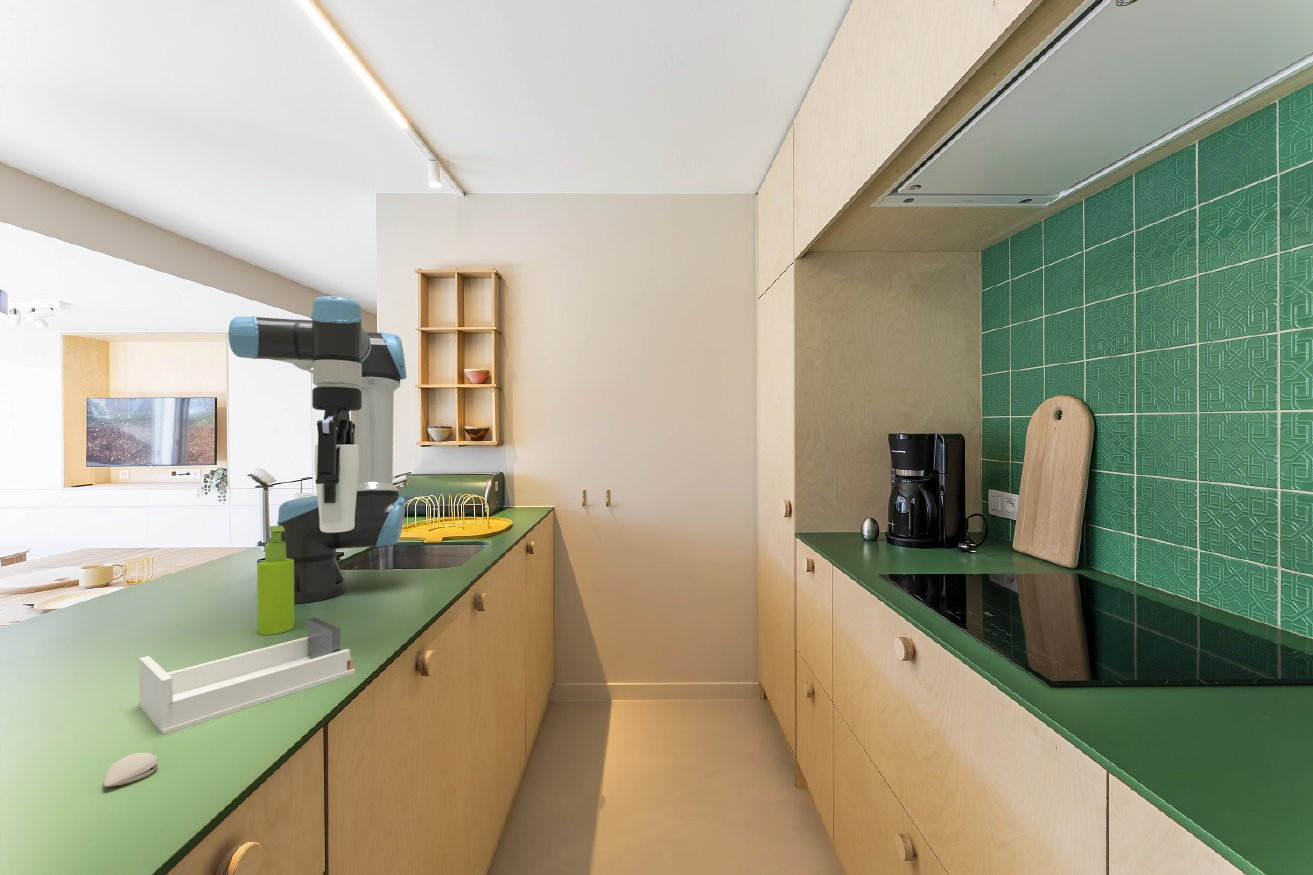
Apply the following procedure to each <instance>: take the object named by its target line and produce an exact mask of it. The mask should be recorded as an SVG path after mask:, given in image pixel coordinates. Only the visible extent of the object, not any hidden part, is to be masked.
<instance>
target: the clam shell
mask: <svg viewBox="0 0 1313 875" xmlns="http://www.w3.org/2000/svg"><path fill="white" fill-rule="evenodd" d="M151 768H153V769H151ZM157 768H158V757H157V756H156V755H155V754H153V753H152V752H144V751H142V752H136V753H135V752H134V753H131V754H128V755H126V756H124V757H122V758H120V759H118V760H117V761H115V762H114V763H112V764H110V766H109V767H108V769H107V770H106V772H105V774H104V776H103V777H104V778H103V786H104V787H108V788H109V787H117V786H123V785H129V784H131V783H133V782H136V781H139V780H141V779H144V778H146V777H149V776H150V775H152V774H154V772H155V771H156V770H157Z"/></svg>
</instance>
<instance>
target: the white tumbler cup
mask: <svg viewBox="0 0 1313 875" xmlns="http://www.w3.org/2000/svg"><path fill="white" fill-rule="evenodd" d="M339 446H340V473H339V482H338V484H341V522H339V523H322V484H316V483H315V484H316V496H317V497H318V508H319V527H320V531H322V532H326V533H335V532H345V531H350V530H352V529H354V527H355V508H356V497H357V486H358V476H359V445H336V449H337V448H338V447H339ZM317 461H318V444H315V445H314V475H315V480H316V479H317Z"/></svg>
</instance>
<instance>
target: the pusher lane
mask: <svg viewBox="0 0 1313 875" xmlns="http://www.w3.org/2000/svg"><path fill="white" fill-rule="evenodd" d="M138 664H139V665H138V666H139V668H138V672H139V675H138V676H139V680H138V681H139V689H138V690H139V692H138V693H139V700H138V707H139V708H141V710H142V711H143V712H144V714H146V715H147V717H148V718H149V719H150V720H151V722H152V723H153V724H154V725H155V726H156V728H158V730H159V731H160V733H162V735H167V734H169V733H170V734H171V733H173V732H176V731H179V730H182V729H186V728H188V727H191V726H195V725H197V724H201V723H205V722H207V721H210V720H213V719H217V718H219V717H224V716H226V715H228V714H232V713H235V712H238V711H243V710H245V709H247V708H252V707H254V706H258V705H261V704H263V703H266V702H267V703H268V702H270V701H273V700H274V701H275V700H277V699H279V698H282V697H283V698H284V697H286V696H290V695H292V694H295V693H299V692H302V691H305V690H308V689H312V688H314V687H317V686H320V685H325V683H326V684H327V683H330V682H333V681H337V680H340V679H342V678H345V677H349V676H352V675H355V674H356V668H354V658H353V657H351V650H350V649H349V648H346V649H342V650H340V651H338V652H335V653H331V654H328V655H324V656H321V657H317V658H314V659H313V658H311V657H309V656H308V636H305V637H301V638H297V639H294V640H290V641H285V642H281V643H277V644H272V645H269V646H267V647H265V646H264V647H262V648H258V649H253V650H250V651H247V652H242V653H238V654H235V655H231V656H227V657H223V658H220V659H216V660H215V659H214V660H212V661H208V662H203V663H200V664H195V665H192V666H188V667H185V668H181V669H177V670H173V671H168V672H167V671H166V670H165V669H163V667H161V665H159V664H158V662H156V661H155V660H154V659H153V658H152V657H151V656H150V655H147V656H143V657H139V663H138Z"/></svg>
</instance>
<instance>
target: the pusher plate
mask: <svg viewBox="0 0 1313 875" xmlns="http://www.w3.org/2000/svg"><path fill="white" fill-rule="evenodd" d="M307 637H308V656H309V657H311V658H313V659H314V658H317V657H321V656H324V655H328V654H331V653H335V652H338V651H341V628H340V627H337V626H336V625H334V624H330V623H328V622H326V621H324V620H322V619H320V618H318V617H312V618H308V619H307Z"/></svg>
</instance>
